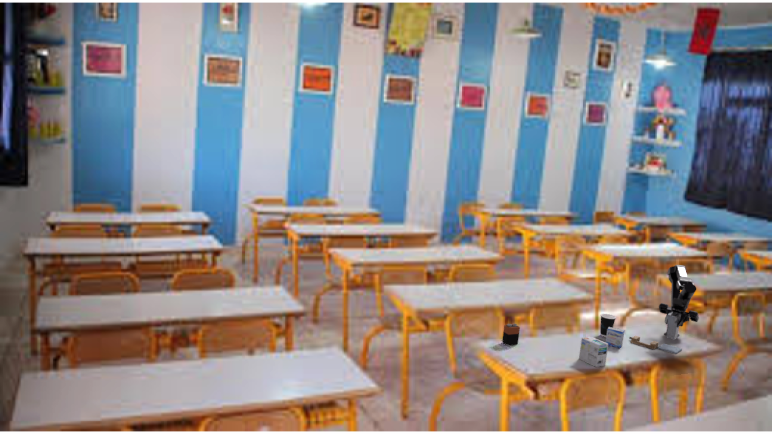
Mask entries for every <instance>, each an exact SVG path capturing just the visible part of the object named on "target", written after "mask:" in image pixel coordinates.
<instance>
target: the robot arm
mask: <svg viewBox="0 0 772 434" xmlns="http://www.w3.org/2000/svg"><path fill="white" fill-rule="evenodd" d="M686 271H687V269H686V266H685V265H680V264H675V265H674V266H671V267H670V266H669V268H668V269H667V276H668V281H669V282H670V283H671V287H670V288H671V290H670V291H671V292H670V293H671V294H670V295H671V296H670V306H669V304H668V303H667V304H666V303H663V302H661V303H659V305H658V309H659V312H660V313H661V314H664V315H666V316H665V317H664V323H665V325H667V326H666V332H664V333H663V334H664V335H665V336H667V330H668V324H667V322H668V319H667V316H668V314H669V313H671V312H677V313H681V317H680V320H679V322H678V324H677V327H679V328H680V327H683V326H684V324H685V323H686V322H690V321H691V322H695V323H698V321H699V320H700V317H699V313H698V311H694V310H689V311H687V309H689V304H690V302H691V299H692V298H693V296H694V295H695V293H696V292H697V287H696V285H695V284H694V282H693V280H692V279H691V278H689V277H688V274H687V272H686ZM679 336H680V334H679V333H678V335H677V338H678V337H679Z"/></svg>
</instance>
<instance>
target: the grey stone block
mask: <svg viewBox="0 0 772 434" xmlns="http://www.w3.org/2000/svg"><path fill="white" fill-rule="evenodd" d="M680 317H681V313H677V312H671V313H669V314H668V316H667V319H668V322H667V324H666V325H668V330H667V329H666V331H667V335H666V338H667V339H671V340H676V339H677V338H678V337H677V335H678V334H679V328H680V326H679V327H677V324H678V322H679V320H680Z"/></svg>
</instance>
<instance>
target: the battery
mask: <svg viewBox="0 0 772 434" xmlns="http://www.w3.org/2000/svg"><path fill="white" fill-rule="evenodd" d="M520 329H521V327H520V326H519V325H518V324H516V323H513V324H511V323H507V324H504V326H503V333H502V340H501V341H502V343H503V344H504V345H506V346H513V345H515V346H516V345H518V344H519V337H520V331H521V330H520Z"/></svg>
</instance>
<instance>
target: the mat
mask: <svg viewBox="0 0 772 434" xmlns="http://www.w3.org/2000/svg"><path fill="white" fill-rule="evenodd" d="M657 349H658V350H661V351H664V352H668V353H671V354H675V355H677V354H679V353H680V352H681V351H683V348H681V347H678V346H675V345H670V344H666V343H663V344H660V345H658V347H657Z"/></svg>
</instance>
